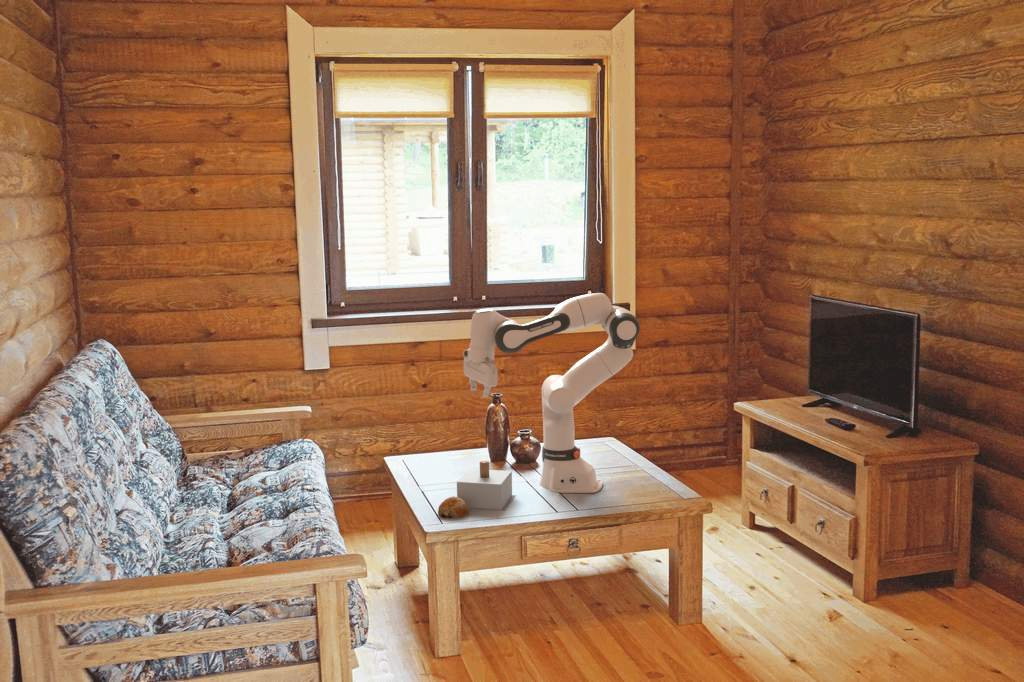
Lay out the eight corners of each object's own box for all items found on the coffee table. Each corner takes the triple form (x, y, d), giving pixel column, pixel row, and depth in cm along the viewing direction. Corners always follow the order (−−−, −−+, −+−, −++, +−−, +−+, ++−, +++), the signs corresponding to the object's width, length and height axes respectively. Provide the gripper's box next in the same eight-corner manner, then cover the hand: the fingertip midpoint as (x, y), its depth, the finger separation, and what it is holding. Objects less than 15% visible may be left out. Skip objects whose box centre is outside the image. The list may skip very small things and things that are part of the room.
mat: (516, 497, 356) (516, 495, 356) (505, 512, 340) (505, 510, 340) (466, 493, 360) (466, 492, 360) (453, 508, 345) (453, 507, 344)
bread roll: (470, 528, 337) (478, 504, 338) (445, 521, 331) (454, 497, 332) (454, 519, 345) (462, 497, 346) (430, 513, 339) (438, 490, 339)
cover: (512, 495, 355) (511, 457, 353) (501, 509, 341) (500, 469, 339) (469, 492, 359) (469, 454, 357) (457, 507, 345) (456, 467, 342)
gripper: (503, 360, 349) (500, 400, 351) (477, 349, 366) (475, 387, 369) (486, 361, 346) (484, 401, 348) (461, 349, 363) (459, 388, 366)
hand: (479, 394), depth 358 cm, fingers open, 8 cm apart
